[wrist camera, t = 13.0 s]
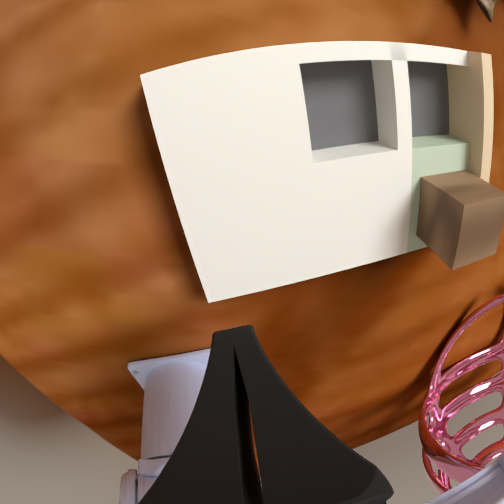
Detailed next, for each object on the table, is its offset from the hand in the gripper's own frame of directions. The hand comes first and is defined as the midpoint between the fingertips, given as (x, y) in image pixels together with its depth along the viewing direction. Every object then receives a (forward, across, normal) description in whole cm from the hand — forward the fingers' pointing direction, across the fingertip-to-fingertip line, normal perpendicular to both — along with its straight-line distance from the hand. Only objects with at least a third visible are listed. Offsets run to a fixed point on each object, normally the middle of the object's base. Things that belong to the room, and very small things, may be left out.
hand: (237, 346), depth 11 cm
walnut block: (+7, -14, 0) cm, 16 cm away
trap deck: (+9, -8, -3) cm, 13 cm away
